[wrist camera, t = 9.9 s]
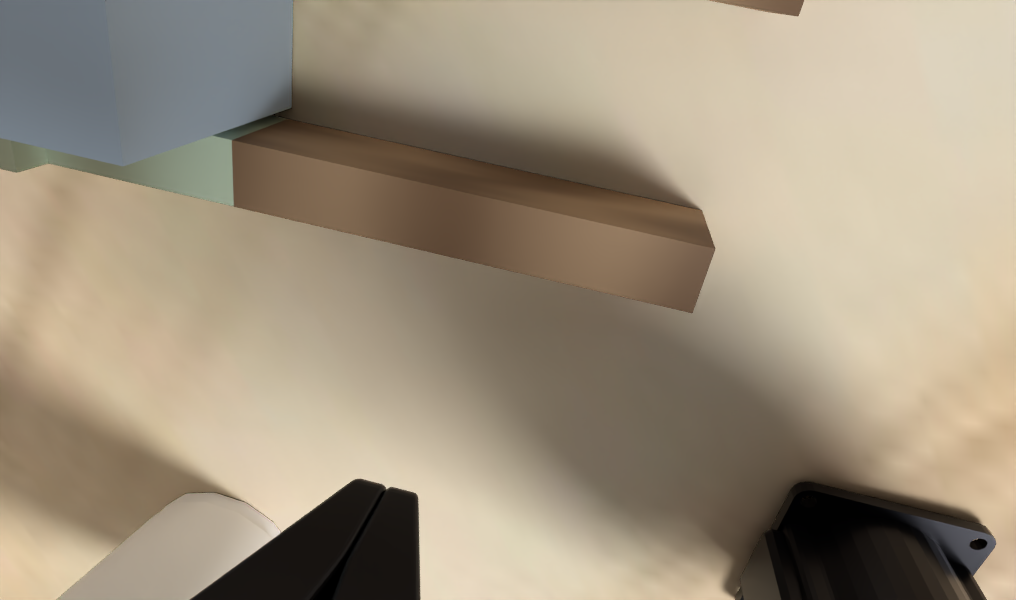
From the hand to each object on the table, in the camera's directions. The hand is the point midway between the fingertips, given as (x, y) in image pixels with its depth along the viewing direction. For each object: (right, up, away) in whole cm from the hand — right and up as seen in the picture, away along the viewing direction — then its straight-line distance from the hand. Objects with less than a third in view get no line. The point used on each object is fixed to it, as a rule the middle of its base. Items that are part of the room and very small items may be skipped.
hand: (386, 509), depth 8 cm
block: (-7, +11, +9) cm, 16 cm away
